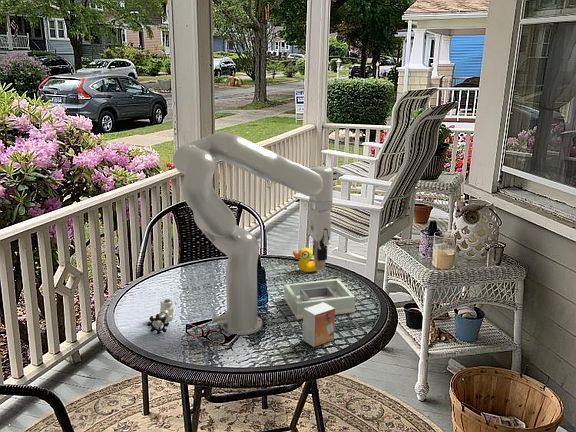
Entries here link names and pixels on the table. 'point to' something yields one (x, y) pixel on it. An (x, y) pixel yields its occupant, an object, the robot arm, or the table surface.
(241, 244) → the robot arm
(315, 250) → the handle
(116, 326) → the table surface
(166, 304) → the valve
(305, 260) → the duckling
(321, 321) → the small box
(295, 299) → the housing
